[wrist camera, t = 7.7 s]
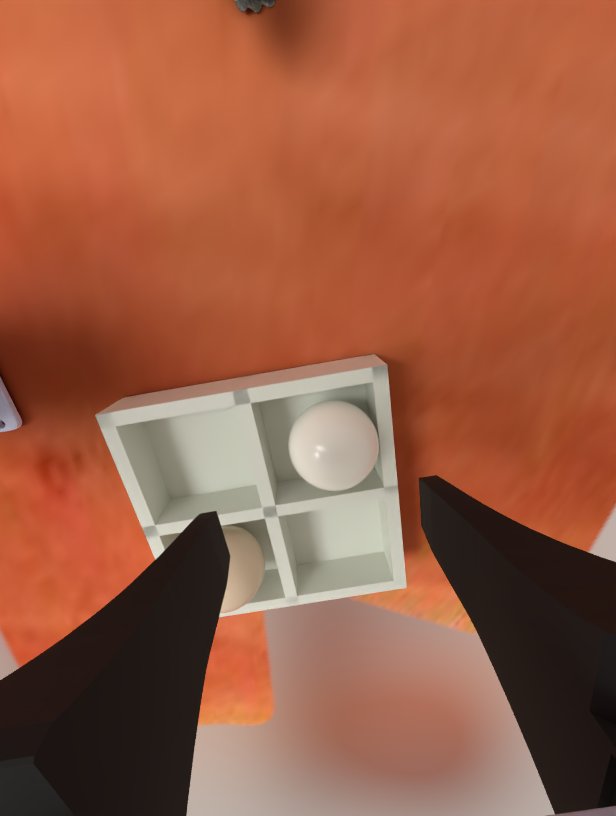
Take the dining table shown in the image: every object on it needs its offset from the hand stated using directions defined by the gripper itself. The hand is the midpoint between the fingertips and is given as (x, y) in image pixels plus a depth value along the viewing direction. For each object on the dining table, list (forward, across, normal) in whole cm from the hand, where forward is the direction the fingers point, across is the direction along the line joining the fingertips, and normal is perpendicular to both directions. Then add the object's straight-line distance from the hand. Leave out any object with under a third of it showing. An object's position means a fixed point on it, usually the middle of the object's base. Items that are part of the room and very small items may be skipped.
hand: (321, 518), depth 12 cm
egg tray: (+10, +3, +4) cm, 11 cm away
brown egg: (+10, +7, +8) cm, 14 cm away
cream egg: (+9, 0, +1) cm, 9 cm away
